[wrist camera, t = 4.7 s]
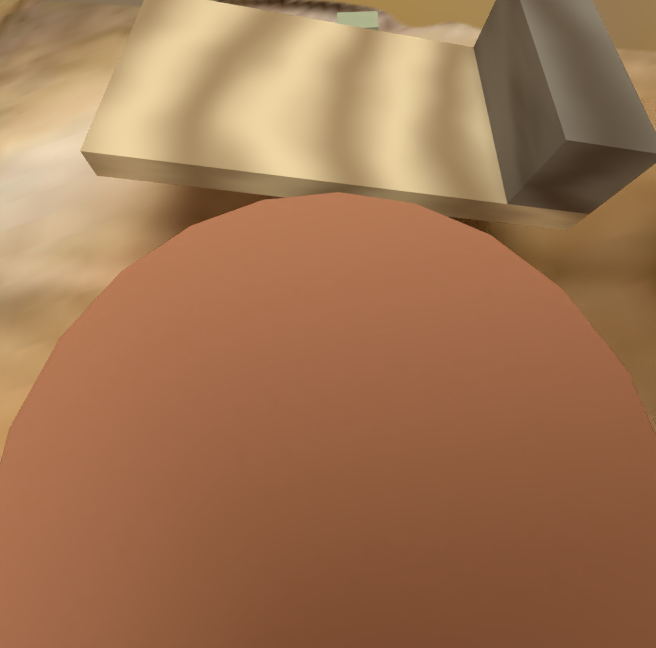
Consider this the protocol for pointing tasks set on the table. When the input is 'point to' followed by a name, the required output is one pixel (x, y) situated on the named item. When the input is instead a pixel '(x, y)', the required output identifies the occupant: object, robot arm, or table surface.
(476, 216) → the seesaw plank
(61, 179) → the table surface
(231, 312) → the coffee jar
